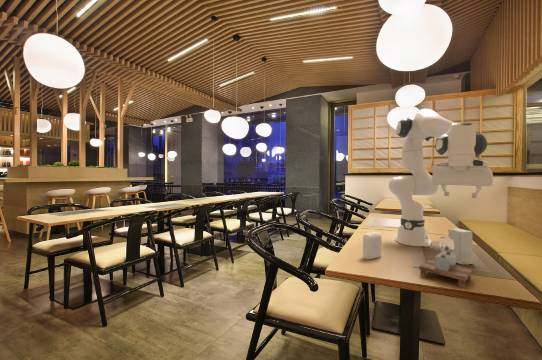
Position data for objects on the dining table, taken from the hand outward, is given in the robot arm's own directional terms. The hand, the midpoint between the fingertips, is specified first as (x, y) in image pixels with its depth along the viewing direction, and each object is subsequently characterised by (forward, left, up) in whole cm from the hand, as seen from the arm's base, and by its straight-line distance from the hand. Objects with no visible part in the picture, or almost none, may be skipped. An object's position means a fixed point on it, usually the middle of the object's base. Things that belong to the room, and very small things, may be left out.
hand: (460, 196), depth 108 cm
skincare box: (-18, -3, -31) cm, 36 cm away
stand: (+10, -2, -31) cm, 33 cm away
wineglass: (-8, -6, -31) cm, 33 cm away
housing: (+10, -2, -27) cm, 29 cm away
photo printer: (+7, -33, -31) cm, 46 cm away
